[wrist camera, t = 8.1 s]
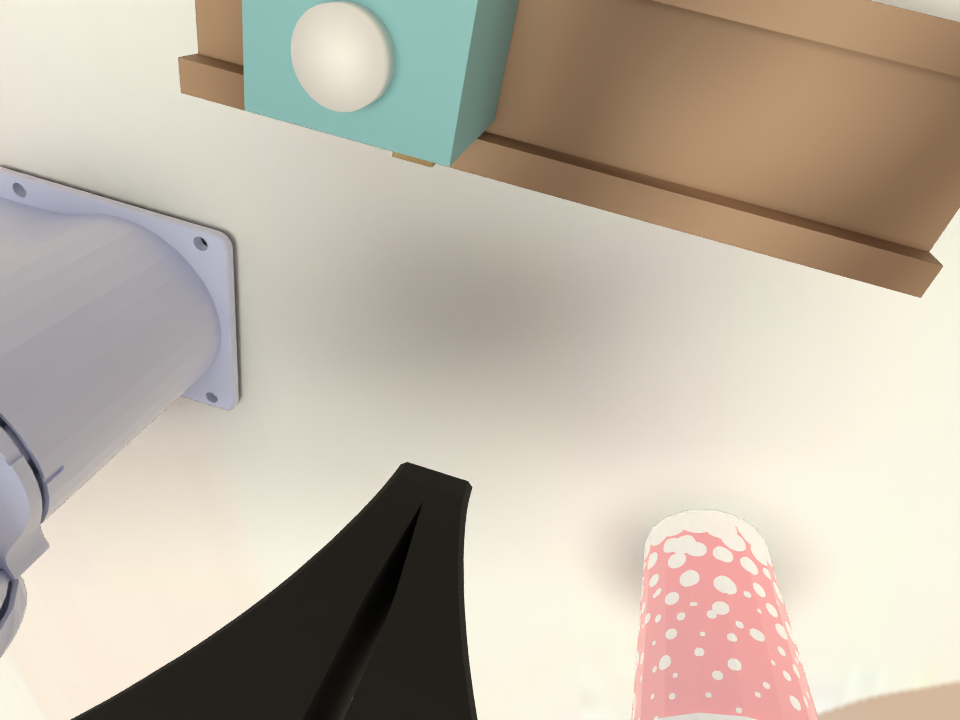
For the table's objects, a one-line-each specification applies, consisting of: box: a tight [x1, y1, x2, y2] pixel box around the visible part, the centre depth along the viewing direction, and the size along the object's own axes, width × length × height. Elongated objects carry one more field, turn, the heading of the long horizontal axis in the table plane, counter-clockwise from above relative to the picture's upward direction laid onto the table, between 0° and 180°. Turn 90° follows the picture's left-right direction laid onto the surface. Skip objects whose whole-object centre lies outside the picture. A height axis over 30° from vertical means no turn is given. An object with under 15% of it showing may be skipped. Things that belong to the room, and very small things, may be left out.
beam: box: [178, 0, 960, 298], centre depth 14 cm, size 18×6×4 cm, turn 78°
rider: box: [242, 0, 519, 167], centre depth 12 cm, size 4×3×5 cm
